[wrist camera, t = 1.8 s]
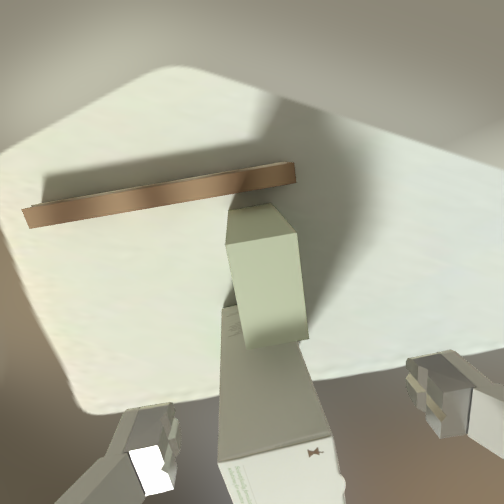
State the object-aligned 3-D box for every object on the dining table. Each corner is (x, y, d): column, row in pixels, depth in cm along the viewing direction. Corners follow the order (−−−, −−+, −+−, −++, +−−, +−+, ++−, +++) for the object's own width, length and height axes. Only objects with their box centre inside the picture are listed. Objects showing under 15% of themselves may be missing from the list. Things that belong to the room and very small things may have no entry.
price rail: (288, 160, 25) (293, 160, 23) (290, 180, 25) (296, 182, 23) (40, 203, 25) (20, 207, 22) (47, 222, 25) (29, 228, 23)
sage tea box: (227, 210, 26) (223, 245, 16) (271, 203, 26) (296, 232, 16) (240, 279, 28) (245, 350, 18) (280, 272, 28) (309, 339, 18)
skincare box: (221, 305, 29) (208, 458, 14) (283, 291, 29) (337, 429, 14) (240, 370, 32) (246, 555, 17) (297, 357, 32) (354, 531, 17)
